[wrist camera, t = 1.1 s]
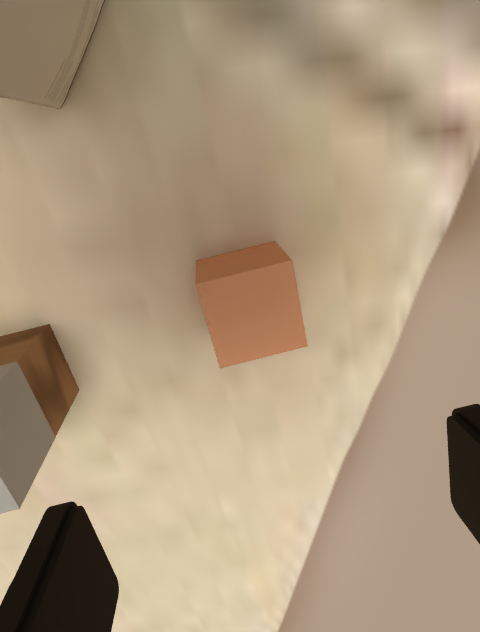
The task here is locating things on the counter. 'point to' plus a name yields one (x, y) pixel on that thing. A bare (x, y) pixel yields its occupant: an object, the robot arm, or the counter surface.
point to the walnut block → (42, 370)
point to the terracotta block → (250, 303)
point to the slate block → (20, 437)
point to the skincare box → (43, 47)
